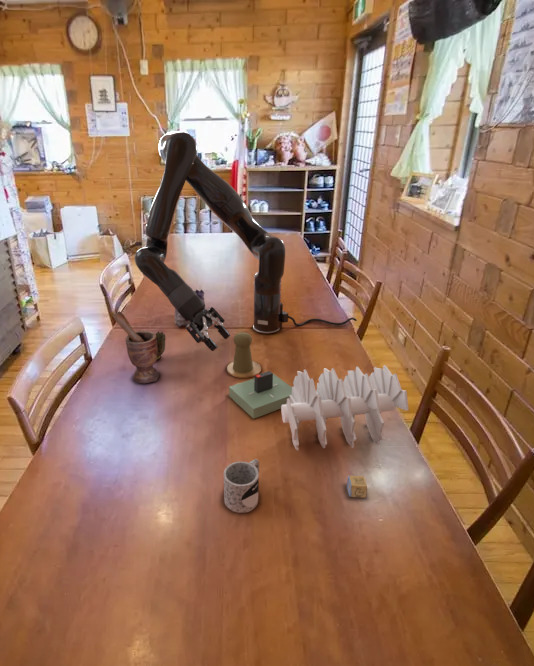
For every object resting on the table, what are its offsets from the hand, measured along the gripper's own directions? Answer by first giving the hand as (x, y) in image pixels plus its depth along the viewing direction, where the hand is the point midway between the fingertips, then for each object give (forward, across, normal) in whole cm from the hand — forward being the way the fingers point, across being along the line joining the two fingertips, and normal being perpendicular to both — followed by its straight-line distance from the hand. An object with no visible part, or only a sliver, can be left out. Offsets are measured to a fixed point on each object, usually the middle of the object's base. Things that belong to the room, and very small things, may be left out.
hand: (221, 343), depth 134 cm
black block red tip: (+16, -12, -10) cm, 22 cm away
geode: (-13, +28, +24) cm, 39 cm away
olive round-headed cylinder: (+10, 0, 0) cm, 10 cm away
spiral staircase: (+33, -20, -22) cm, 45 cm away
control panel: (+18, -12, -8) cm, 23 cm away
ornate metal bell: (-9, -5, +20) cm, 23 cm away
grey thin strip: (+25, -45, -14) cm, 53 cm away
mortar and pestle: (-8, -16, +18) cm, 26 cm away
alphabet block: (+38, -36, -28) cm, 59 cm away
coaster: (+10, 0, 0) cm, 10 cm away
